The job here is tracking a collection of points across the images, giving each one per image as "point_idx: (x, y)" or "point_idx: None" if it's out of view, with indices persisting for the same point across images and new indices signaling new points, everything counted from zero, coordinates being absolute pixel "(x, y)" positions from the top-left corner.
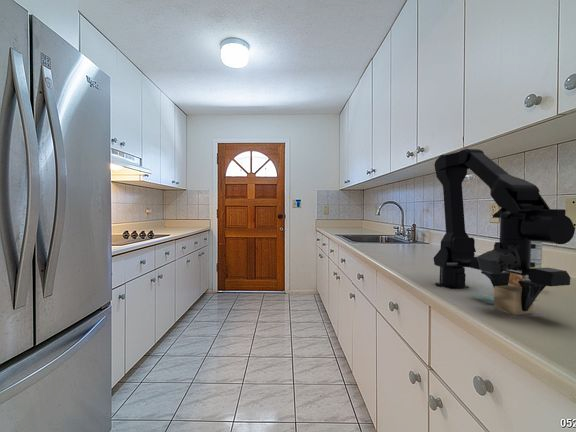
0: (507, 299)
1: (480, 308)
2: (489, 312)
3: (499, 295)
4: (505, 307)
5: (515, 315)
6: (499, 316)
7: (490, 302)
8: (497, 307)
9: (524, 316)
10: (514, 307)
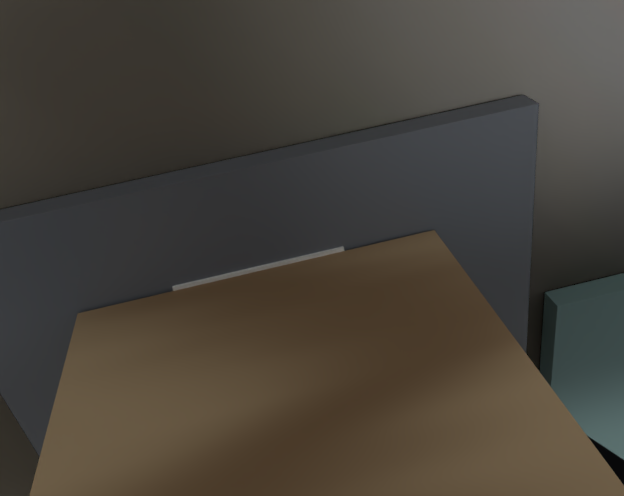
0: (219, 450)
1: (504, 21)
2: (298, 37)
3: (420, 426)
4: (240, 316)
5: (66, 312)
6: (91, 74)
7: (619, 319)
8: (376, 255)
9: (43, 399)
10: (64, 395)
